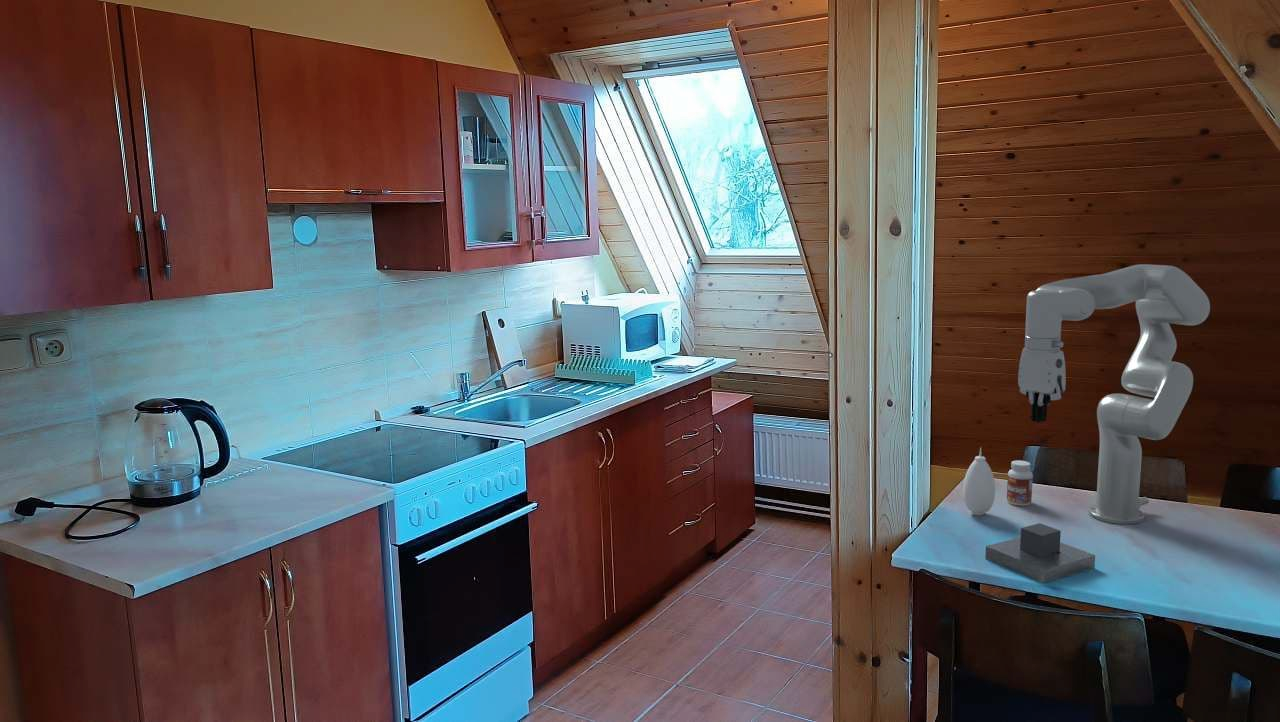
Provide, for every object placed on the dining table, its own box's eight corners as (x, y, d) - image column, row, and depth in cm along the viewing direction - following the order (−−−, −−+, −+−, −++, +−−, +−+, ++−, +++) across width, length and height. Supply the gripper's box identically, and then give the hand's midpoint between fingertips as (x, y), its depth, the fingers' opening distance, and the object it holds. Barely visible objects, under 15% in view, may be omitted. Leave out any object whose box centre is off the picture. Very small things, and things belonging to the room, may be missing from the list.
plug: (1038, 554, 212) (1039, 523, 211) (1059, 562, 207) (1060, 530, 206) (1019, 559, 209) (1020, 528, 208) (1040, 568, 205) (1041, 535, 203)
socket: (1034, 545, 219) (1035, 529, 218) (1094, 568, 205) (1095, 551, 204) (985, 558, 212) (985, 542, 211) (1043, 583, 198) (1044, 566, 197)
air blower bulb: (961, 508, 245) (963, 442, 242) (992, 510, 243) (995, 443, 240) (963, 518, 238) (965, 450, 235) (995, 520, 236) (998, 452, 233)
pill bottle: (1003, 503, 248) (1004, 463, 246) (1010, 497, 253) (1012, 458, 251) (1027, 508, 244) (1029, 467, 242) (1034, 501, 249) (1036, 461, 247)
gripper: (1081, 346, 210) (1077, 425, 213) (1027, 338, 223) (1024, 412, 226) (1058, 349, 206) (1054, 430, 210) (1004, 341, 220) (1001, 416, 223)
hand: (1038, 420), depth 218 cm, fingers closed
